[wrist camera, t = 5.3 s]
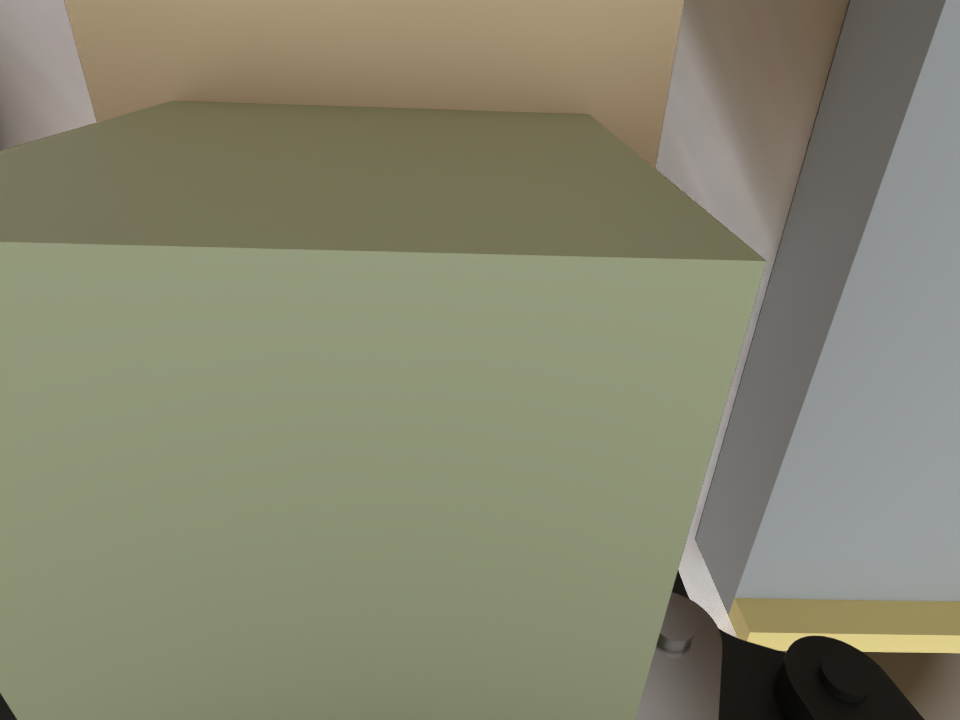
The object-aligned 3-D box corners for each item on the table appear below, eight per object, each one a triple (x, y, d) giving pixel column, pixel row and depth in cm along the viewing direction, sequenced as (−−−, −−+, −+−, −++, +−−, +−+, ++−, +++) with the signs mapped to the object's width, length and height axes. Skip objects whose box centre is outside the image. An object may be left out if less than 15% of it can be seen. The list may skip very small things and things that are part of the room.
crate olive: (173, 101, 6) (-289, 234, 2) (588, 114, 6) (767, 260, 2) (242, 436, 8) (56, 782, 4) (551, 441, 8) (617, 782, 4)
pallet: (184, -162, 7) (-133, -359, 4) (623, -142, 8) (788, -309, 4) (328, 712, 17) (286, 920, 13) (522, 712, 17) (538, 918, 13)
